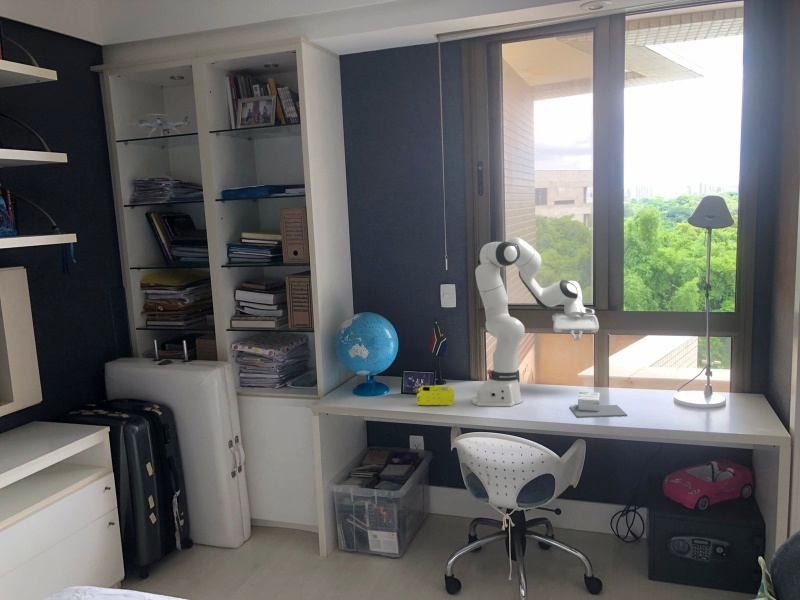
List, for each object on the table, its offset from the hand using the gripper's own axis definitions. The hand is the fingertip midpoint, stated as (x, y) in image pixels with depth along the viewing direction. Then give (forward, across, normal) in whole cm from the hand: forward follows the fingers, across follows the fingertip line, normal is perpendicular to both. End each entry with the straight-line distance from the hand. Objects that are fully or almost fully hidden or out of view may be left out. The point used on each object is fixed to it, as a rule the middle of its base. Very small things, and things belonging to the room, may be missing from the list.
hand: (577, 340), depth 292 cm
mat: (+37, +4, -8) cm, 38 cm away
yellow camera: (+30, -64, +7) cm, 71 cm away
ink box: (+28, +2, -1) cm, 28 cm away
